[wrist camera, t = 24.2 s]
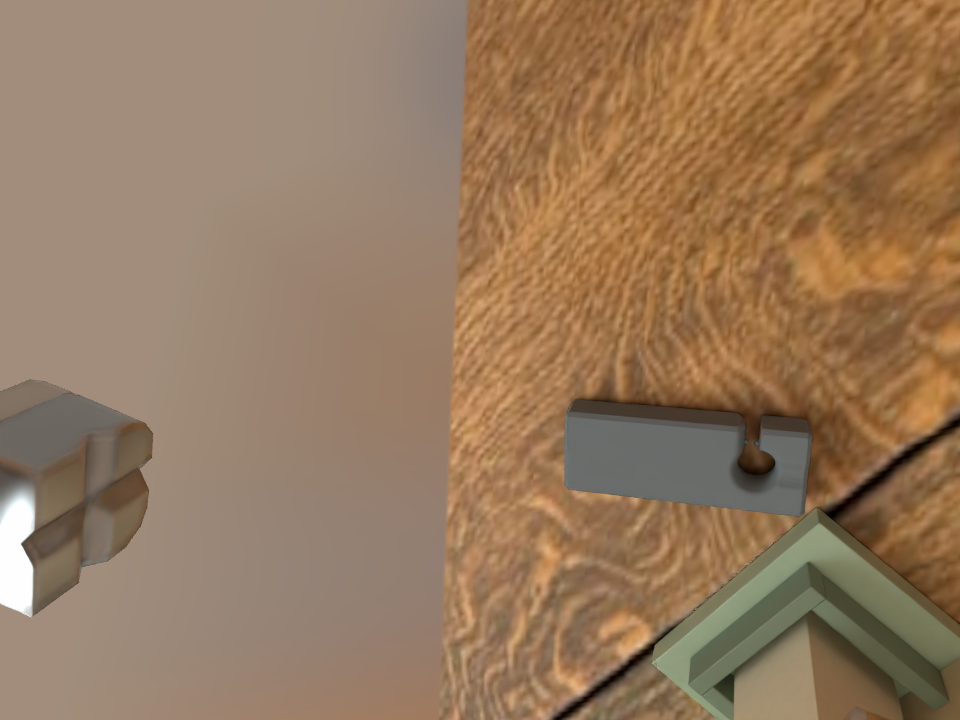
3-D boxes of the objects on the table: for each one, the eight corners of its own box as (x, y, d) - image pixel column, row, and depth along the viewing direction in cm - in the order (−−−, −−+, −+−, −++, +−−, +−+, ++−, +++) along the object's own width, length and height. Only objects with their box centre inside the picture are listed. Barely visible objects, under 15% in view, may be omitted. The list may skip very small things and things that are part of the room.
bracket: (572, 396, 38) (563, 412, 36) (810, 416, 35) (814, 434, 33) (571, 473, 39) (563, 491, 37) (801, 498, 36) (805, 520, 34)
